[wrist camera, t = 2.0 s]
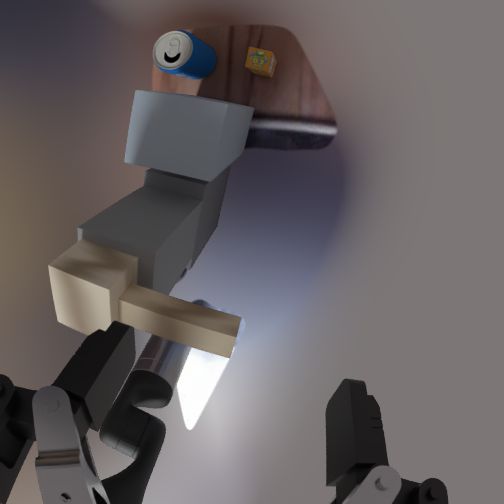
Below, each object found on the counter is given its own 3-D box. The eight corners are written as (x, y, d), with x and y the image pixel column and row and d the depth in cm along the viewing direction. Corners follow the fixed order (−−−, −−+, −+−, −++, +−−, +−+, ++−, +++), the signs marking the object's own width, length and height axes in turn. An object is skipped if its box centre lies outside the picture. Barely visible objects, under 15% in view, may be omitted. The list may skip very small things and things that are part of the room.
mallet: (249, 290, 24) (238, 331, 19) (233, 342, 27) (222, 383, 22) (82, 238, 24) (48, 265, 20) (85, 291, 27) (58, 321, 22)
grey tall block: (242, 153, 48) (210, 182, 30) (186, 140, 48) (124, 162, 30) (254, 107, 45) (227, 104, 26) (196, 95, 45) (135, 90, 26)
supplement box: (252, 75, 42) (242, 66, 33) (257, 56, 41) (249, 43, 32) (272, 80, 42) (267, 72, 33) (278, 61, 41) (274, 48, 32)
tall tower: (217, 226, 55) (150, 338, 28) (176, 215, 55) (84, 312, 28) (231, 162, 49) (157, 229, 23) (186, 152, 49) (77, 206, 23)
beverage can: (178, 79, 44) (146, 72, 33) (183, 44, 41) (153, 29, 30) (214, 80, 43) (192, 72, 33) (220, 45, 40) (199, 27, 30)
